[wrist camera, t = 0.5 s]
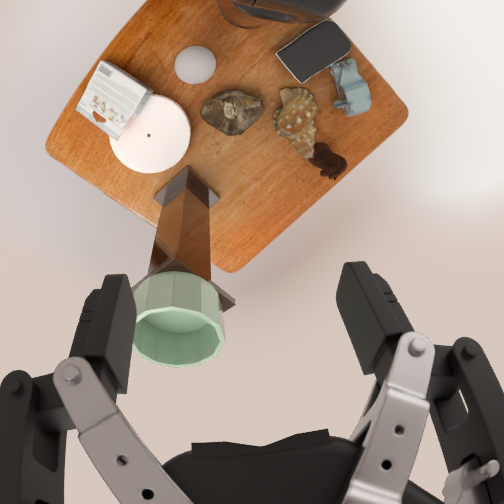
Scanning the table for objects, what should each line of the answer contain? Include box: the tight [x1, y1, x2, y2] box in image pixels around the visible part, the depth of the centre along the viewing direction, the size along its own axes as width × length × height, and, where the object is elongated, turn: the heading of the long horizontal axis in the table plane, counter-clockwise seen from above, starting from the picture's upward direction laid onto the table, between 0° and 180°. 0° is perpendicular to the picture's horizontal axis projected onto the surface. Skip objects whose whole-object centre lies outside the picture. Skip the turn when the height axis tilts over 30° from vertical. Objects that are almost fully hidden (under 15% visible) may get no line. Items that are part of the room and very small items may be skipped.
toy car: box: [330, 58, 371, 117], centre depth 48 cm, size 6×10×5 cm, turn 22°
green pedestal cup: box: [131, 165, 235, 368], centre depth 47 cm, size 11×11×34 cm
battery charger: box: [276, 20, 352, 83], centre depth 44 cm, size 7×4×11 cm
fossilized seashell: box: [200, 89, 265, 136], centre depth 49 cm, size 8×7×10 cm
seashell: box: [273, 87, 317, 158], centre depth 51 cm, size 9×8×10 cm
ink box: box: [76, 60, 153, 141], centre depth 44 cm, size 2×11×10 cm
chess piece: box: [308, 143, 347, 180], centre depth 54 cm, size 5×5×10 cm
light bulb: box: [175, 46, 216, 84], centre depth 41 cm, size 6×6×10 cm
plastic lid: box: [109, 94, 191, 174], centre depth 50 cm, size 14×14×2 cm
